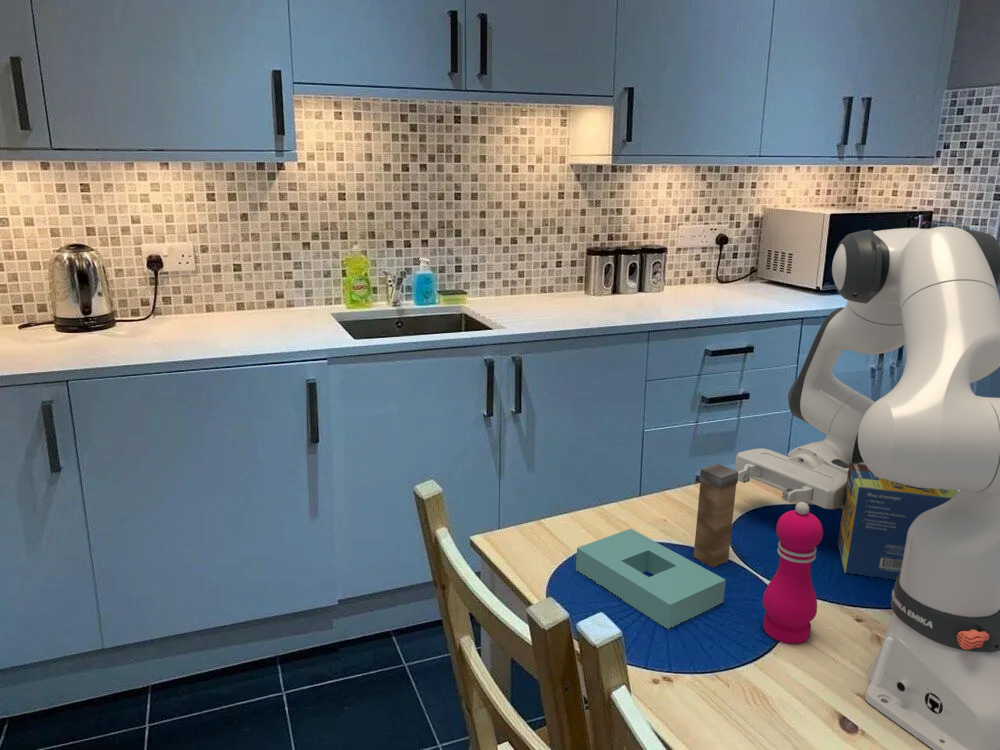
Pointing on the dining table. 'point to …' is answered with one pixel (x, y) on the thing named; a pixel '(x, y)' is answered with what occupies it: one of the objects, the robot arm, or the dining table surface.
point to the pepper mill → (793, 577)
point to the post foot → (661, 596)
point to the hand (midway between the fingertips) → (762, 487)
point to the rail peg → (715, 514)
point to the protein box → (880, 521)
